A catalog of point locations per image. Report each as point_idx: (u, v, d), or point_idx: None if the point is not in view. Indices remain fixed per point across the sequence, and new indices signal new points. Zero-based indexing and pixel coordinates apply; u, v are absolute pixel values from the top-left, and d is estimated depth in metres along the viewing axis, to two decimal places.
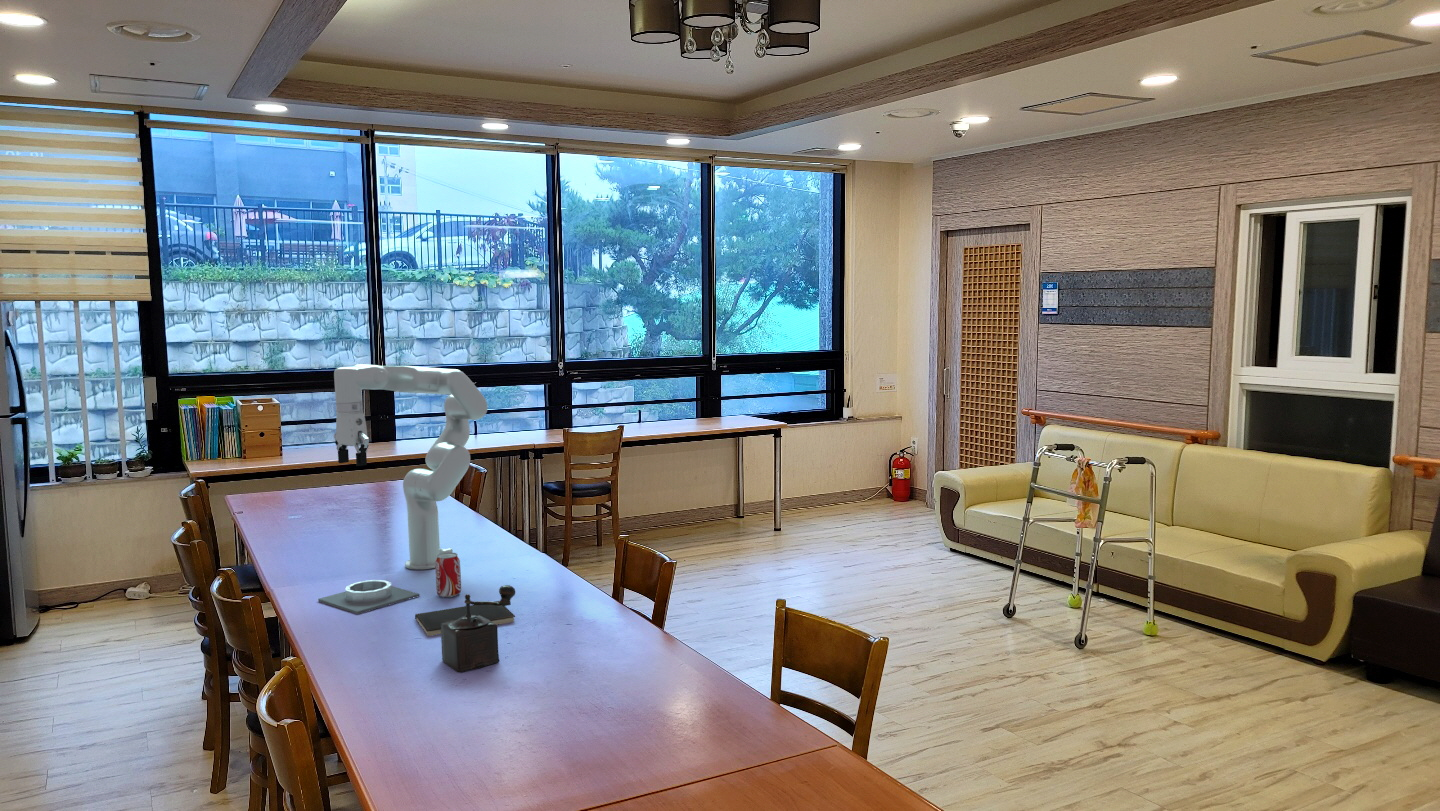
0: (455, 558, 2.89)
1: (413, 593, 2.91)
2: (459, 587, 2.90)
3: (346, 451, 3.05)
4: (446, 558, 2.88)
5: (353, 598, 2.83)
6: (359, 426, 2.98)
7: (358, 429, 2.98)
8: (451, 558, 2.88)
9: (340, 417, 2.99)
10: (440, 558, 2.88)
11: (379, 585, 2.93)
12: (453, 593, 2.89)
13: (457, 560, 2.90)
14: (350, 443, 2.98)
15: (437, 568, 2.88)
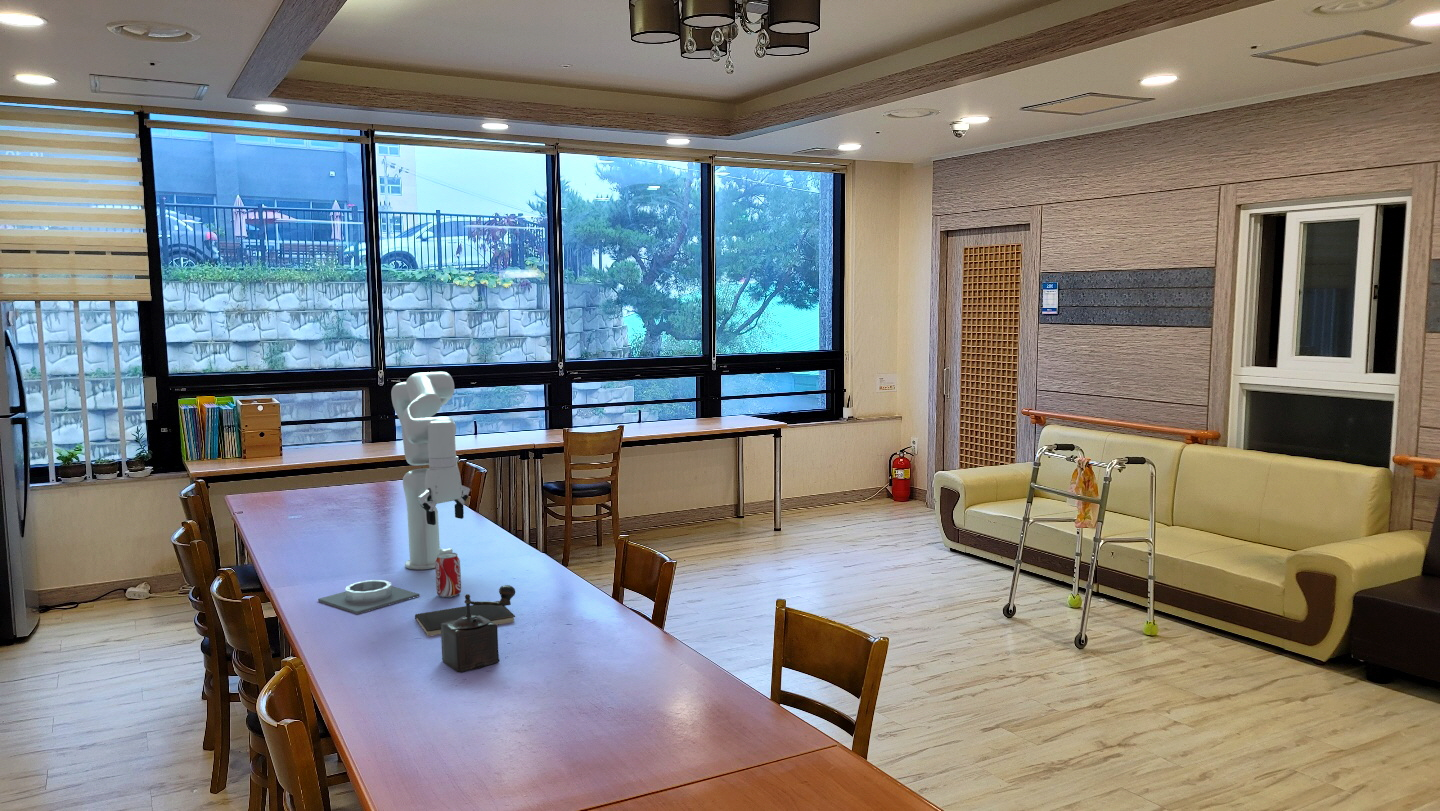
0: (455, 558, 2.89)
1: (413, 593, 2.91)
2: (459, 587, 2.90)
3: None
4: (446, 558, 2.88)
5: (353, 598, 2.83)
6: None
7: None
8: (451, 558, 2.88)
9: (446, 472, 2.85)
10: (440, 558, 2.88)
11: (379, 585, 2.93)
12: (453, 593, 2.89)
13: (457, 560, 2.90)
14: (457, 497, 2.89)
15: (437, 568, 2.88)
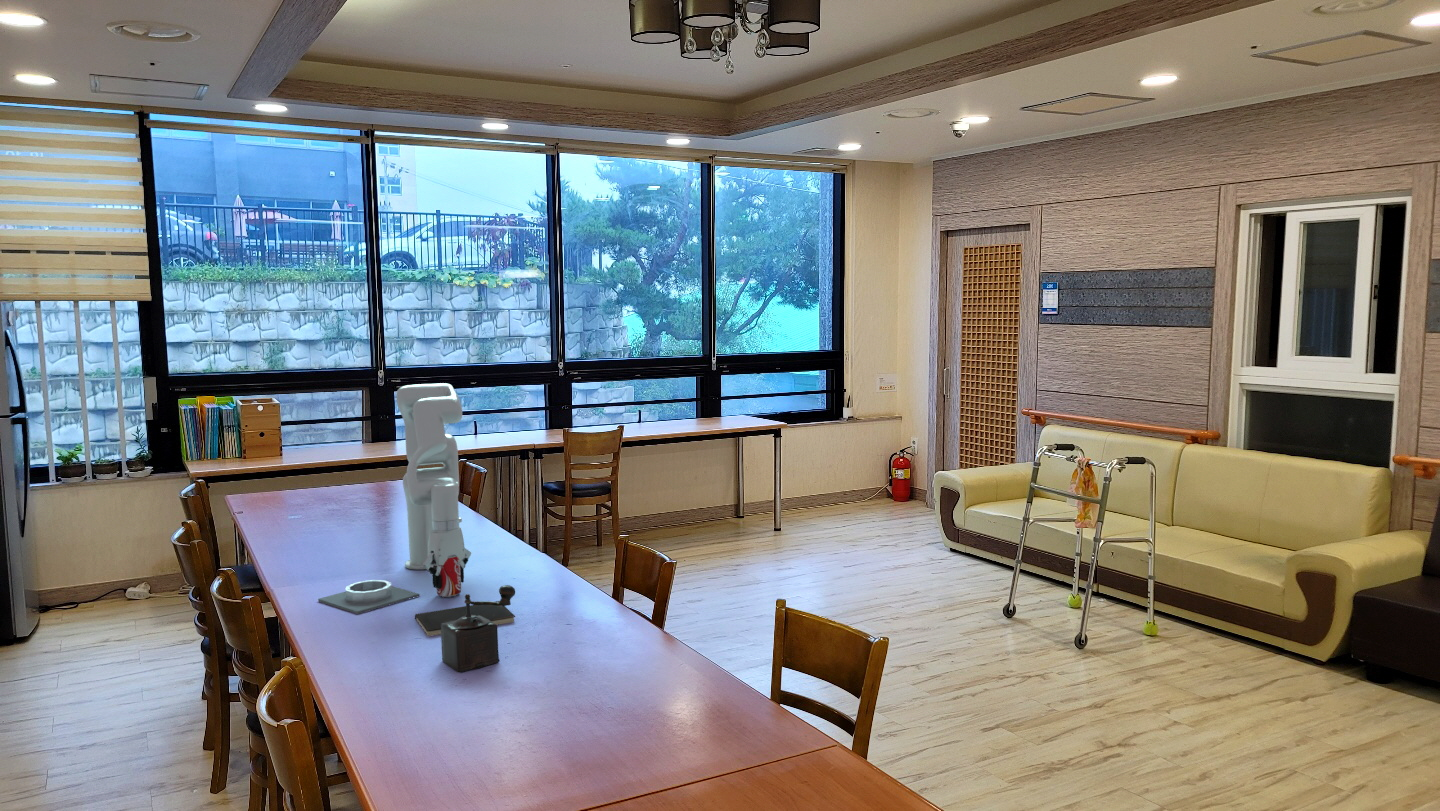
0: (455, 558, 2.89)
1: (413, 593, 2.91)
2: (459, 587, 2.90)
3: None
4: None
5: (353, 598, 2.83)
6: None
7: None
8: (451, 558, 2.88)
9: (449, 535, 2.87)
10: None
11: (379, 585, 2.93)
12: (453, 593, 2.89)
13: (457, 560, 2.90)
14: (460, 558, 2.91)
15: None
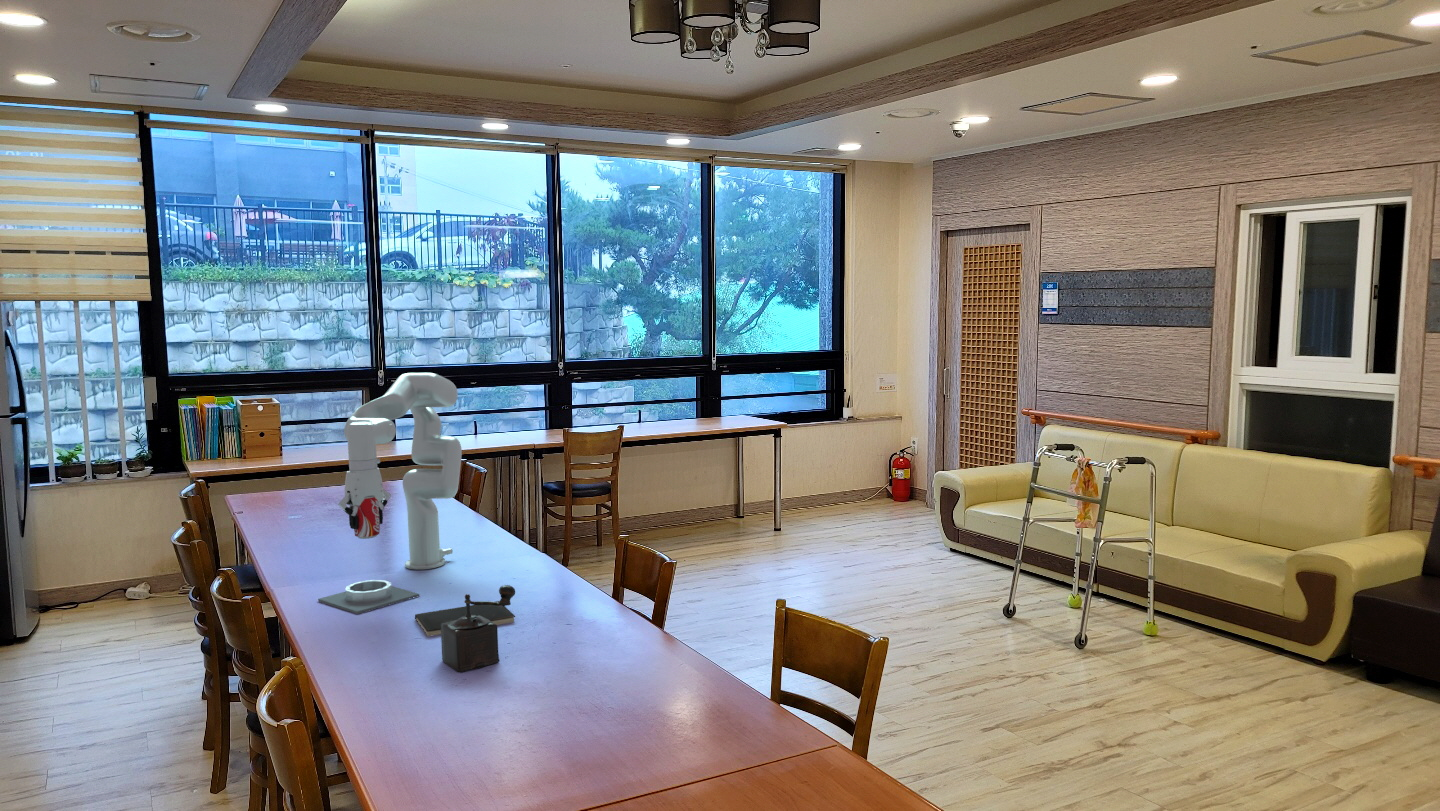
0: (373, 499, 2.85)
1: (413, 593, 2.91)
2: (377, 528, 2.86)
3: None
4: None
5: (353, 598, 2.83)
6: None
7: None
8: (368, 498, 2.84)
9: (366, 475, 2.83)
10: None
11: (379, 585, 2.93)
12: (371, 534, 2.84)
13: (375, 501, 2.85)
14: (378, 499, 2.87)
15: None
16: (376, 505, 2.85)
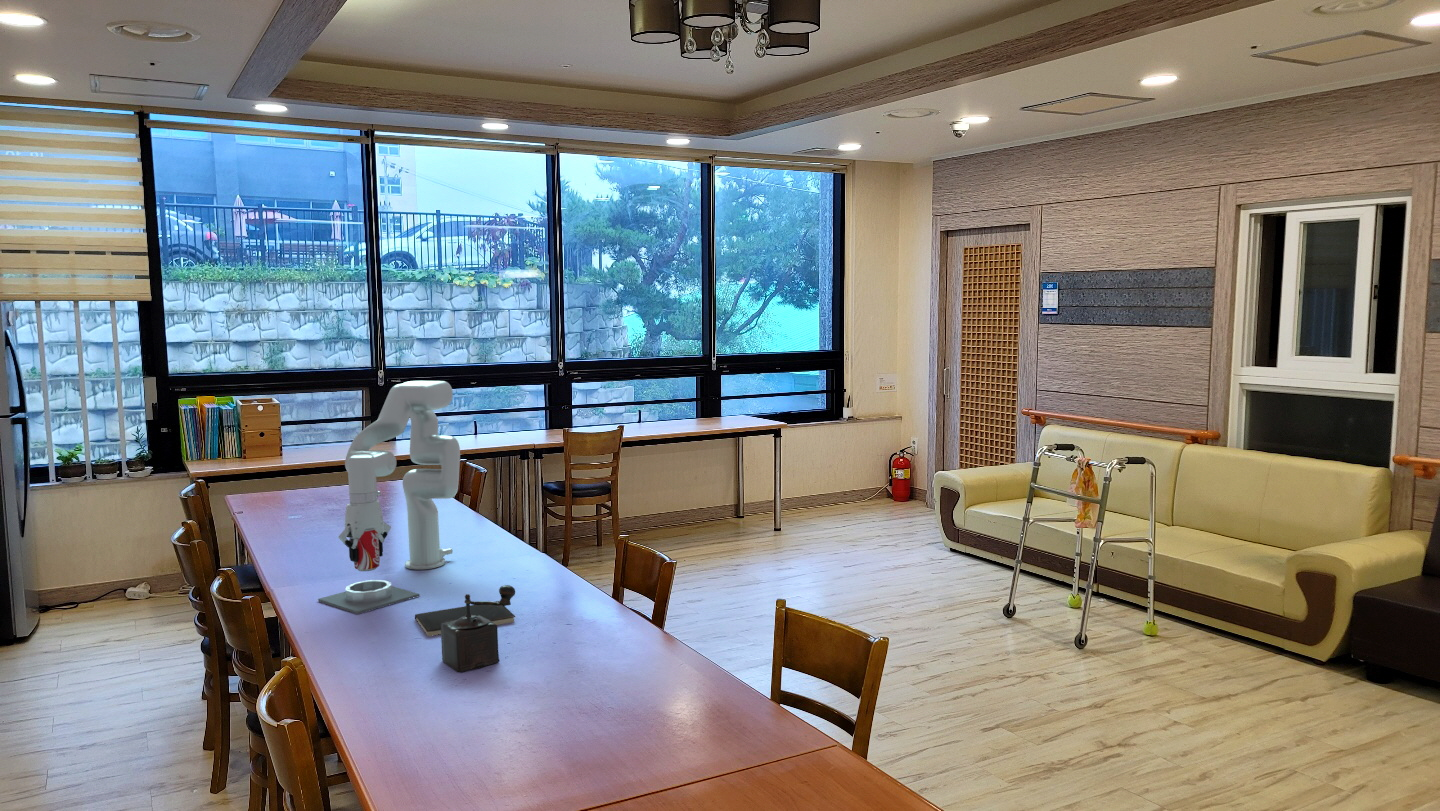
0: (373, 531, 2.86)
1: (413, 593, 2.91)
2: (377, 560, 2.87)
3: None
4: None
5: (353, 598, 2.83)
6: None
7: None
8: (368, 531, 2.84)
9: (366, 508, 2.84)
10: None
11: (379, 585, 2.93)
12: (370, 567, 2.85)
13: (375, 533, 2.86)
14: (378, 532, 2.88)
15: None
16: (376, 538, 2.86)
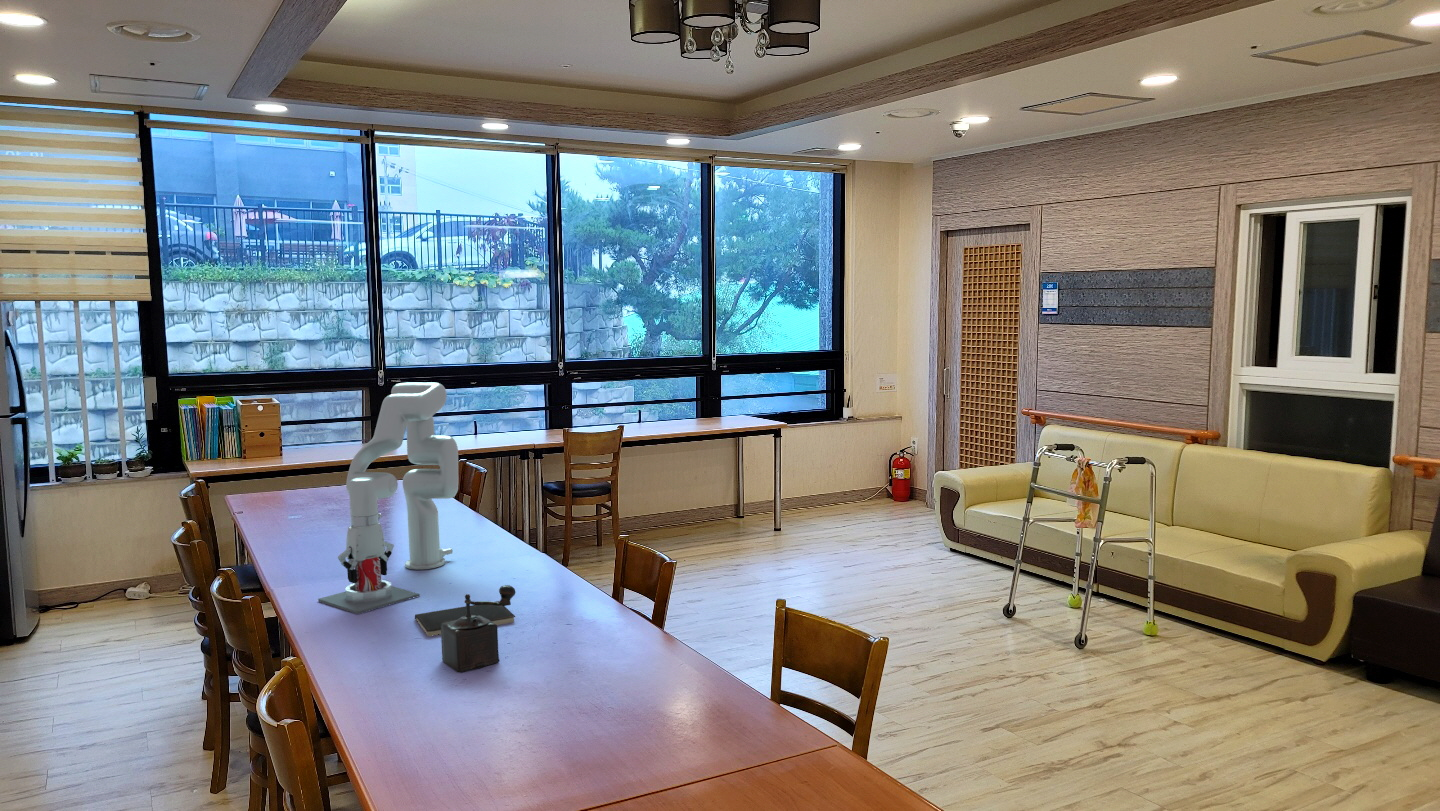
0: (375, 559, 2.87)
1: (413, 593, 2.91)
2: (379, 588, 2.88)
3: None
4: (365, 559, 2.85)
5: (353, 598, 2.83)
6: None
7: None
8: (370, 559, 2.86)
9: (367, 530, 2.85)
10: None
11: None
12: None
13: (377, 561, 2.87)
14: (379, 554, 2.88)
15: (356, 569, 2.85)
16: (378, 565, 2.87)
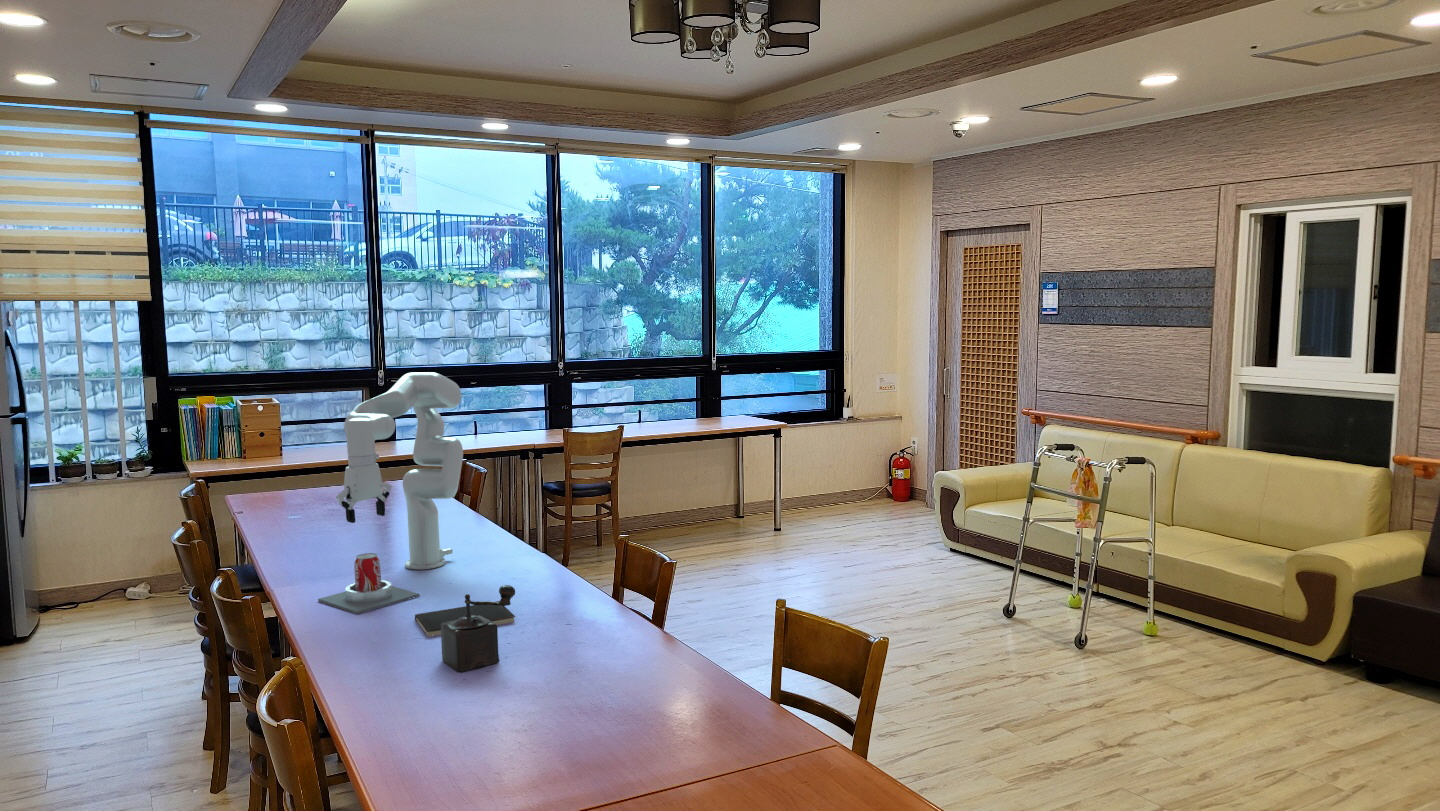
0: (374, 559, 2.87)
1: (413, 593, 2.91)
2: (379, 587, 2.88)
3: None
4: (365, 559, 2.85)
5: (353, 598, 2.83)
6: None
7: None
8: (370, 559, 2.86)
9: (365, 470, 2.85)
10: (359, 559, 2.85)
11: None
12: None
13: (376, 561, 2.87)
14: (377, 494, 2.89)
15: (356, 569, 2.85)
16: (377, 565, 2.87)
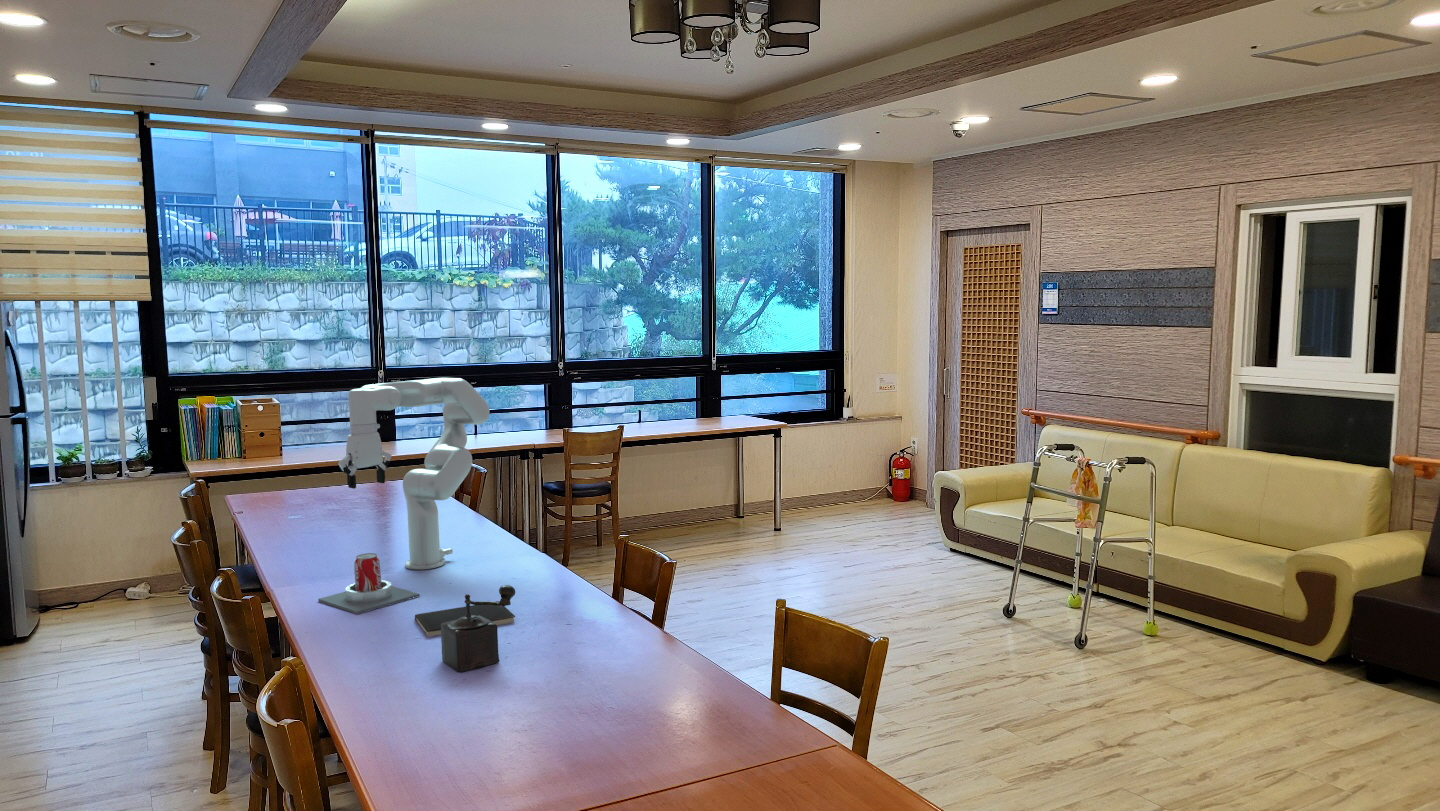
0: (374, 559, 2.87)
1: (413, 593, 2.91)
2: (379, 588, 2.88)
3: None
4: (365, 559, 2.85)
5: (353, 598, 2.83)
6: None
7: None
8: (370, 559, 2.86)
9: (366, 438, 2.98)
10: (359, 559, 2.85)
11: None
12: None
13: (376, 561, 2.87)
14: (377, 462, 3.02)
15: (356, 569, 2.85)
16: (377, 565, 2.87)
